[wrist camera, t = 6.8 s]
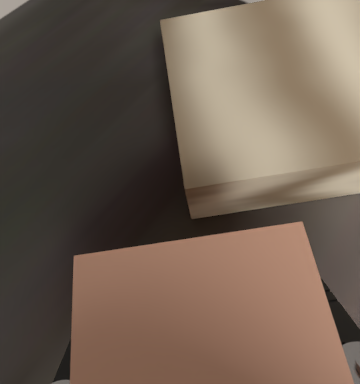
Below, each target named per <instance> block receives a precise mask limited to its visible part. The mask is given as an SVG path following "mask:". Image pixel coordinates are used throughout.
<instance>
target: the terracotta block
mask: <svg viewBox="0 0 360 384" xmlns="http://www.w3.org/2000/svg"><path fill="white" fill-rule="evenodd" d="M70 384H354V381H353V378H352V375H351V372H350V369H349V366H348V363H347V360H346V356H345V353H344V350H343V347H342V344H341V341H340V338H339V334H338V331H337V328H336V325H335V322H334V319H333V316H332V313H331V309H330V306H329V303H328V300H327V297H326V294H325V291H324V287H323V284H322V281H321V278H320V275H319V272H318V269H317V266H316V262H315V259H314V256H313V253H312V250H311V247H310V244H309V241H308V237H307V234H306V231H305V228H304V225H303V222H295V223H288V224H282V225H275V226H268V227H262V228H255V229H249V230H242V231H235V232H229V233H222V234H215V235H209V236H202V237H195V238H189V239H182V240H175V241H169V242H162V243H155V244H149V245H142V246H136V247H129V248H122V249H116V250H109V251H102V252H96V253H89V254H82V255H76V256H74V265H73V298H72V330H71V362H70Z"/></svg>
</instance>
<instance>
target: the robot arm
mask: <svg viewBox="0 0 360 384" xmlns="http://www.w3.org/2000/svg"><path fill="white" fill-rule="evenodd" d="M321 281H322V284H323V287H324V291H325V294H326V297H327V300H328V303H329V306H330V309H331V313H332V316H333V319H334V322H335V325H336V328H337V331H338V334H339V338H340V341H341V344H342V347H343V350H344V353H345V356H346V360H347V363H348V366H349V369H350V372H351V375H352V378H353V381H354V384H360V329H359V328H358V327H357V325H356V324H355V323H354V321H353V320H352V319H351V317H350V316H349V315H348V313H347V312H346V311H345V309H344V308H343V307H342V305H341V304H340V303H339V302H338V301H337V299H336V297H335V296H334V295H333V293H332V292H330V289H329V288H328V287H327V285H326V284H325V283H324V281H323V280H322V279H321ZM70 362H71V340H70V342H69V345H68V347H67V349H66V352H65V354H64V357H63V359H62V361H61V364H60V366H59V369H58V371H57V374H56V376H55V378H54V381H53V383H51V384H70Z"/></svg>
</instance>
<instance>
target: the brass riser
mask: <svg viewBox="0 0 360 384" xmlns="http://www.w3.org/2000/svg"><path fill="white" fill-rule="evenodd" d="M160 24H161V30H162V37H163V44H164V51H165V58H166V65H167V72H168V78H169V85H170V92H171V99H172V106H173V113H174V120H175V126H176V133H177V140H178V147H179V154H180V161H181V168H182V174H183V181H184V188H185V193H186V197H187V202H188V206H189V211H190V215H191V219H197V218H203V217H209V216H216V215H222V214H229V213H235V212H242V211H248V210H255V209H261V208H268V207H274V206H281V205H287V204H294V203H300V202H306V201H313V200H319V199H326V198H332V197H339V196H345V195H352V194H358V193H360V0H265V1H260V2H254V3H249V4H243V5H238V6H233V7H227V8H222V9H217V10H211V11H206V12H201V13H195V14H190V15H185V16H179V17H174V18H169V19H164V20H160Z"/></svg>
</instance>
